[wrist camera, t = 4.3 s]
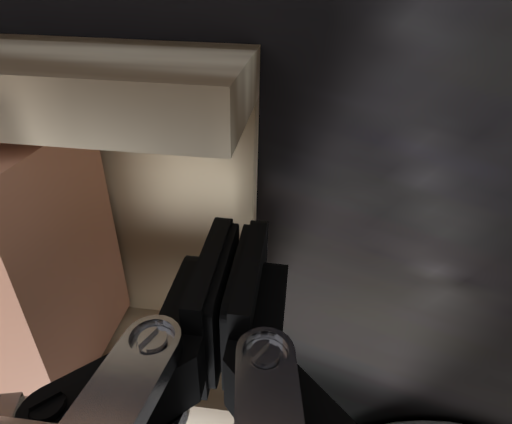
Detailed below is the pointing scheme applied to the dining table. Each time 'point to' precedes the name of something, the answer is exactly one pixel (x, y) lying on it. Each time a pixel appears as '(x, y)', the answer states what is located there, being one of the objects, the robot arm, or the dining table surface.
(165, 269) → the chute
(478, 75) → the dining table surface
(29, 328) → the block
